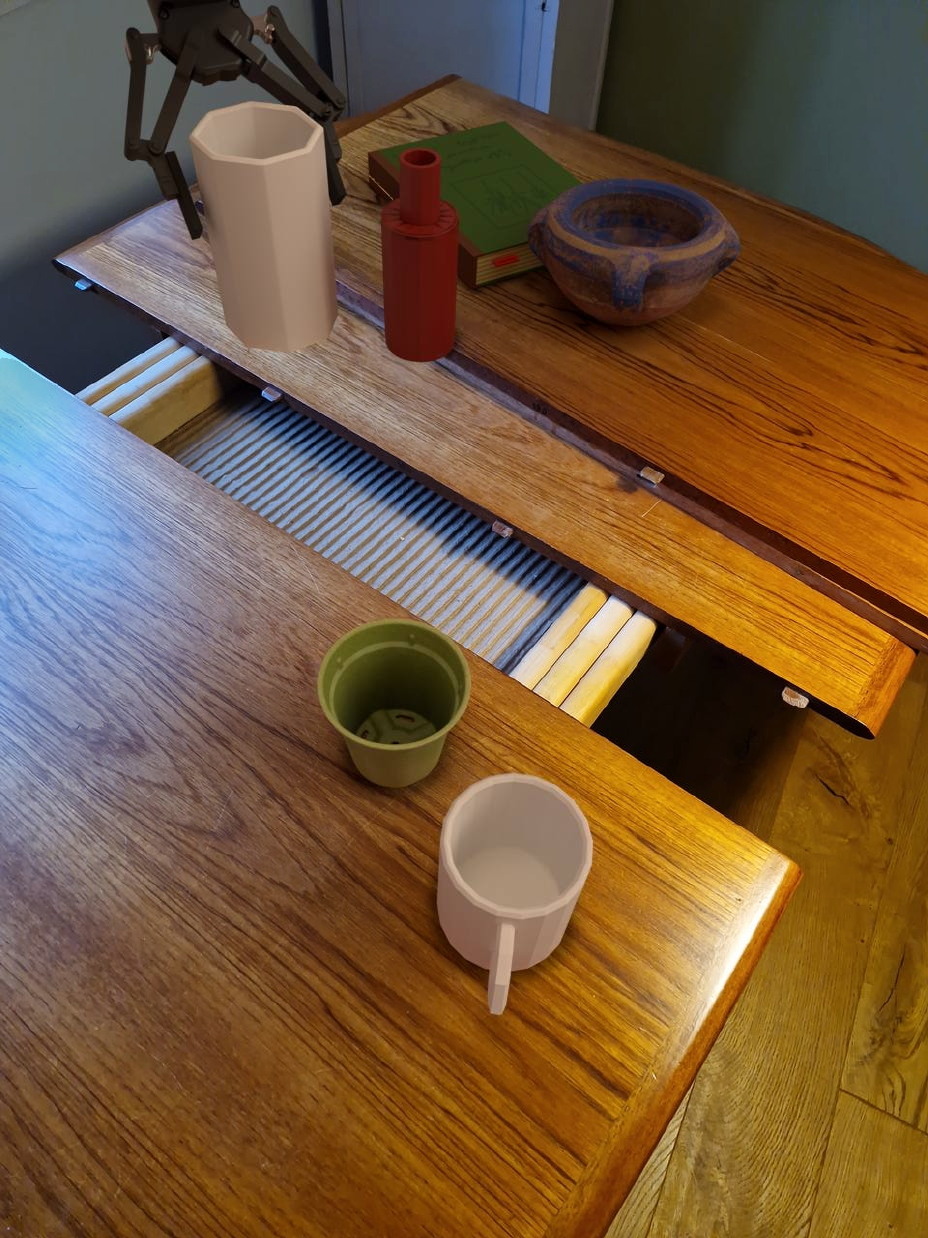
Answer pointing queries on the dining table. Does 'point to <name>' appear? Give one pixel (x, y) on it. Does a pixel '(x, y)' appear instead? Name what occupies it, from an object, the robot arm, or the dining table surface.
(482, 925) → the mug
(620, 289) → the bowl
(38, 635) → the dining table surface
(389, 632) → the plant pot
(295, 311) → the cup
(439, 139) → the book
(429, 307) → the sauce bottle
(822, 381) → the dining table surface
